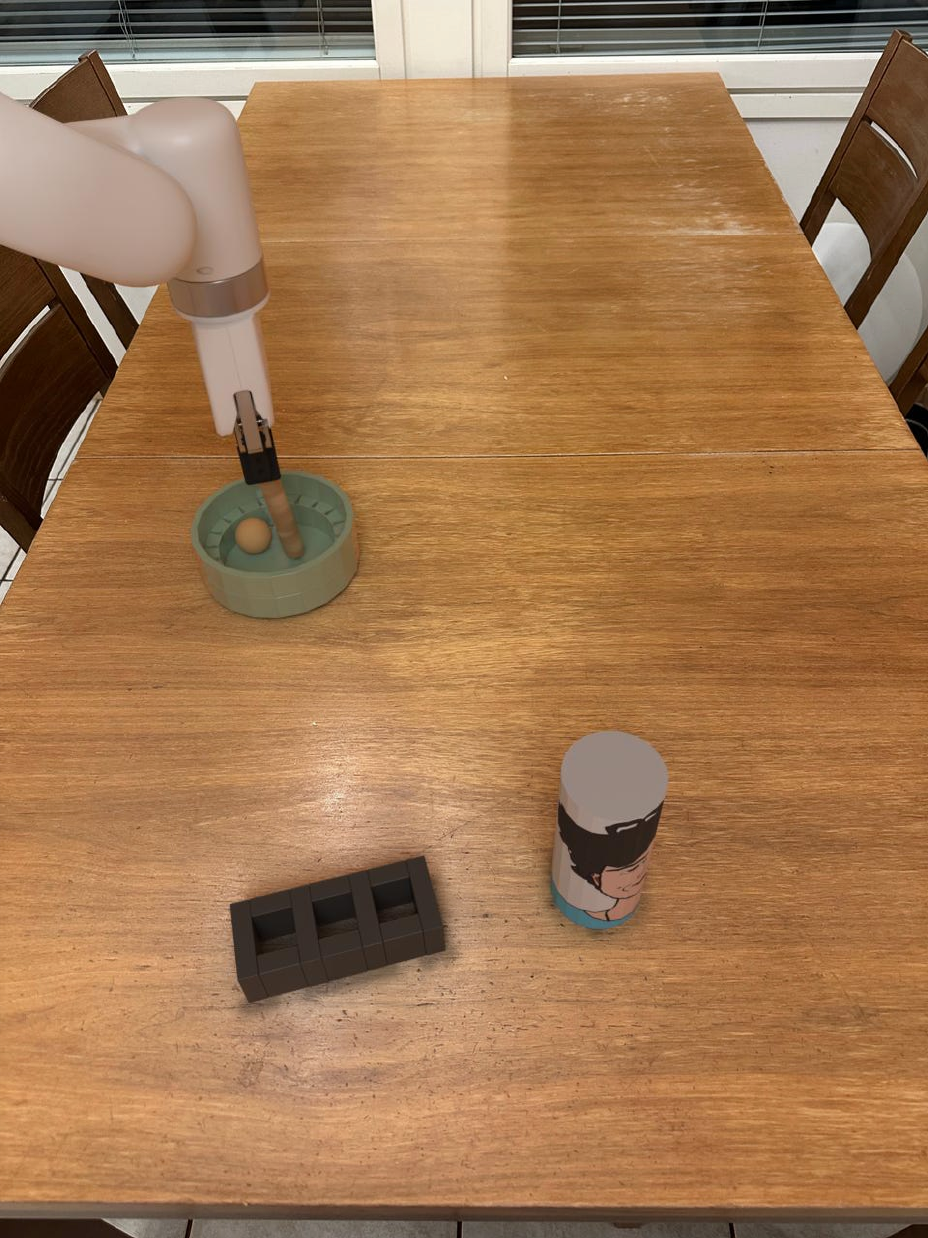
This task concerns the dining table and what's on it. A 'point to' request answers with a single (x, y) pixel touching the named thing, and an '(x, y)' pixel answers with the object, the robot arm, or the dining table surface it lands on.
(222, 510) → the bowl
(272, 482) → the stick
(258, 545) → the dough ball
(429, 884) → the holder
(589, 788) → the printed cylindrical canister
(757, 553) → the dining table surface
